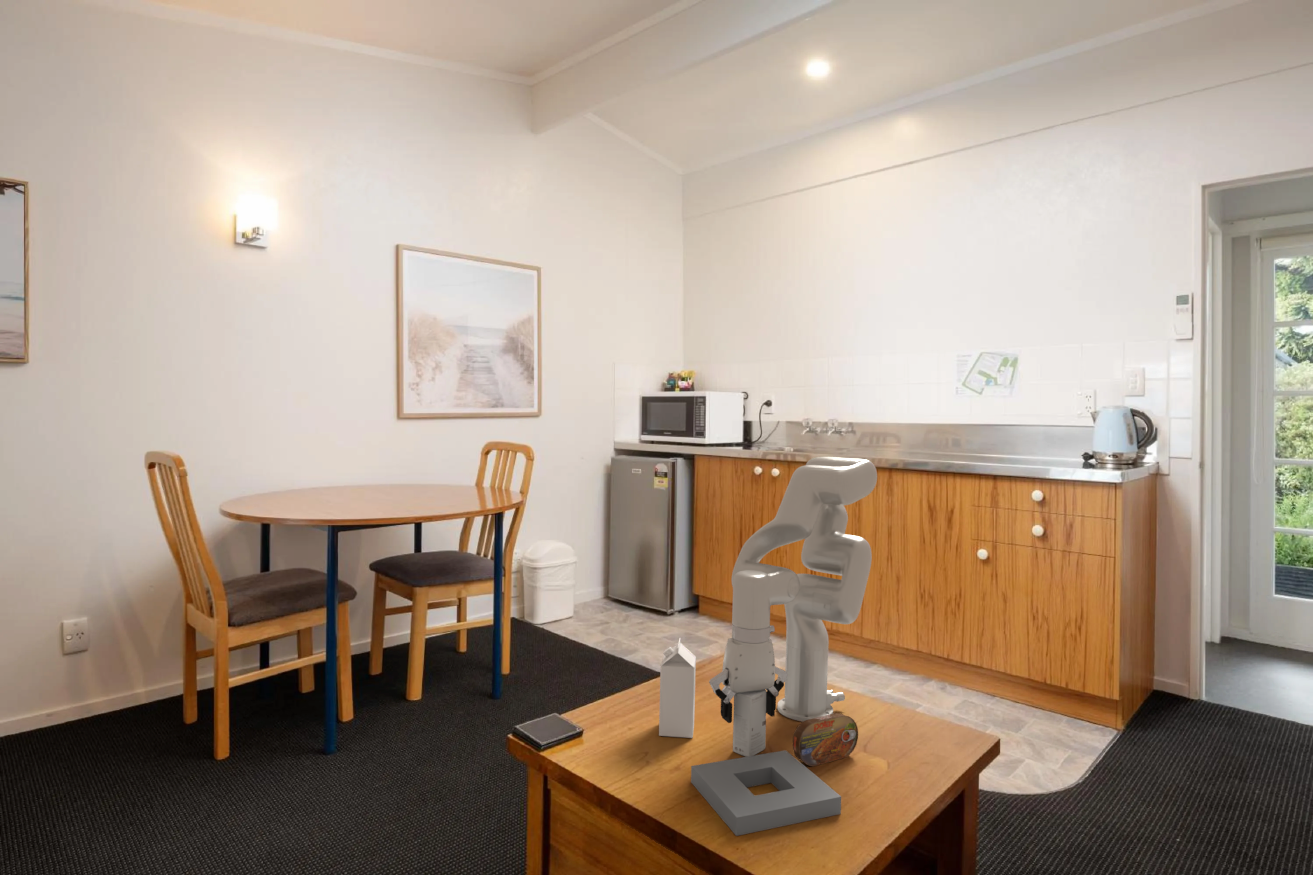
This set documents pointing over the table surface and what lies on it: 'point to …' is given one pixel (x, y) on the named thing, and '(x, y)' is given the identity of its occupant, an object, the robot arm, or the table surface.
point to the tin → (825, 739)
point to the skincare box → (749, 722)
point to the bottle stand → (749, 813)
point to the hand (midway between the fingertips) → (748, 716)
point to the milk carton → (677, 692)
